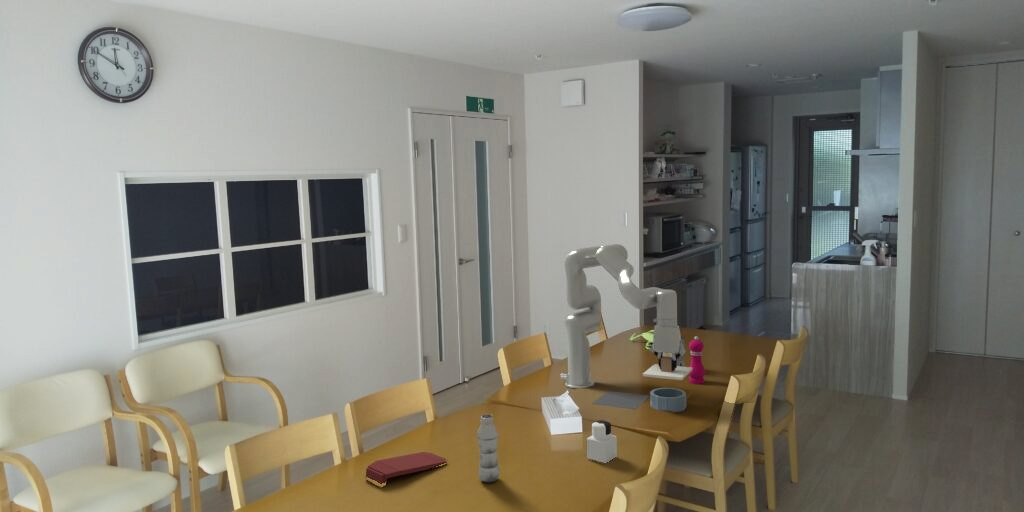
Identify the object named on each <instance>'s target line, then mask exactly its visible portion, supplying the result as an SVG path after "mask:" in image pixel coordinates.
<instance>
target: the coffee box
mask: <svg viewBox="0 0 1024 512" xmlns="http://www.w3.org/2000/svg"><path fill="white" fill-rule="evenodd" d="M681 345H682V346H683V348H684V349H685V337H684V336H683V335H682V336H681ZM679 352H681V351H680V350H679ZM679 352H677V354H678V353H679ZM663 356H668V357H672V353H665V352H663ZM677 366H682V367H685V354H683V355H681V356H680V357H678V358H677Z"/></svg>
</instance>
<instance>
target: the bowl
mask: <svg viewBox="0 0 1024 512" xmlns="http://www.w3.org/2000/svg"><path fill="white" fill-rule="evenodd" d="M649 396H650V397H649V404H650V407H651V408H652V409H654V410H657V411H661V412H662V411H663V412H672V413H679V412H683V411H685V409H687V393H686V392H685V390H682V389H681V388H677V387H676V388H675V387H659V388H654V389H652V390H651V391H649Z"/></svg>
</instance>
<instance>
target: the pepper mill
mask: <svg viewBox="0 0 1024 512" xmlns="http://www.w3.org/2000/svg"><path fill="white" fill-rule="evenodd" d="M704 345H705V344H704V342H703V341H702V340H700V339H699V336H697V335H696V336H694V339H692V340H690V342H689V345H688V348H689V349H690V355H691V362H690V364H689V366H688V367H692V371H691V372H690V373H689V374H688V375H689V378H688V382H689V383H690V384H692V383H694V384H695V385H700V384H701V383H702V384H704V383H705V378H704V376H705V375H706V369H705V366H704V364H703V362H702V356H703V350H704V348H705V347H704ZM702 384H701V385H702Z"/></svg>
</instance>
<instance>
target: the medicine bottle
mask: <svg viewBox="0 0 1024 512" xmlns="http://www.w3.org/2000/svg"><path fill="white" fill-rule="evenodd" d="M617 438H618V437H617V435H614V434H612V424H611V422H609V421H607V420H603V419H600V420H595V421H593V422H592V424H591V435H590V436H589V437H587V438H586V459H587V458H589V459H593V460H596V461H599V462H603V463H607V462H608V463H609V461H610V460H612V459H613V458H615V457H616V458H618V445H617V444H618V439H617ZM616 458H615V459H616ZM613 460H614V459H613ZM613 460H612V461H613ZM599 462H598V463H599ZM610 462H611V461H610ZM603 463H602V464H603ZM608 463H607V464H608Z"/></svg>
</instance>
